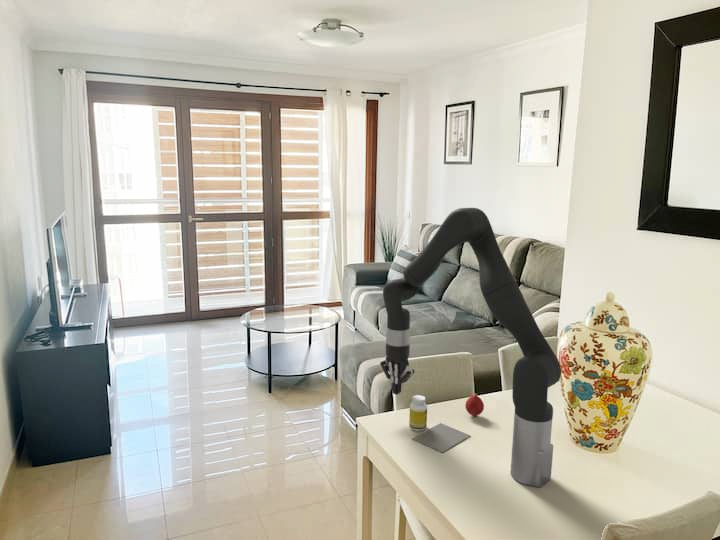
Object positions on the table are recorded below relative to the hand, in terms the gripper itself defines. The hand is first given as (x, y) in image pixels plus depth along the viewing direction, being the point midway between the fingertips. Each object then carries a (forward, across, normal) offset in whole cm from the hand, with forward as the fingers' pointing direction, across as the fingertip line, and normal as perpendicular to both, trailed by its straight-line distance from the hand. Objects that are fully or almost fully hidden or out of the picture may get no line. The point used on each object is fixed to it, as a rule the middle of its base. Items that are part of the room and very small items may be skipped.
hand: (396, 393), depth 167 cm
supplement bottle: (+8, -9, 0) cm, 13 cm away
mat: (+8, -18, 0) cm, 20 cm away
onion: (+8, -17, -19) cm, 27 cm away
